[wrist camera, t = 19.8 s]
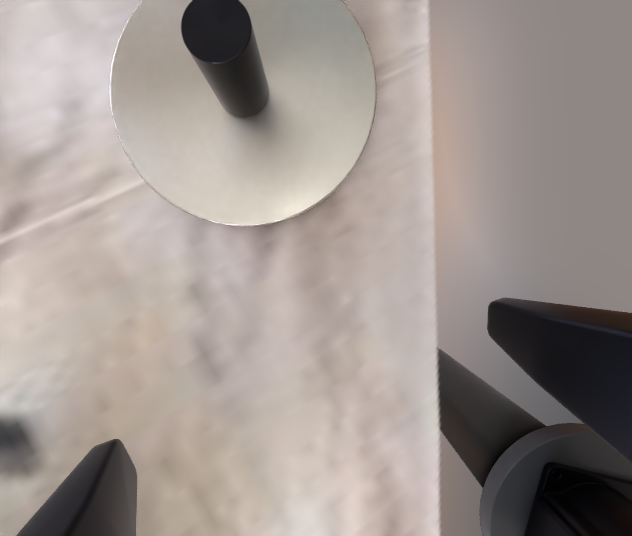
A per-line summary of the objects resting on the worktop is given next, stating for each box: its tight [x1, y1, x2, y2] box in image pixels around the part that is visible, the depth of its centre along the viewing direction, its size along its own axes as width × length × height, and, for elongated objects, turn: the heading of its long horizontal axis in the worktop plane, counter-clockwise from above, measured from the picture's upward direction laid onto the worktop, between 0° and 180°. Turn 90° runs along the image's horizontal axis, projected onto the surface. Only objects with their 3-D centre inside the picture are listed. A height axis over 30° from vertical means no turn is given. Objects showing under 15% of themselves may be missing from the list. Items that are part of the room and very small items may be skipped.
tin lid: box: [110, 0, 376, 226], centre depth 16 cm, size 15×15×6 cm
